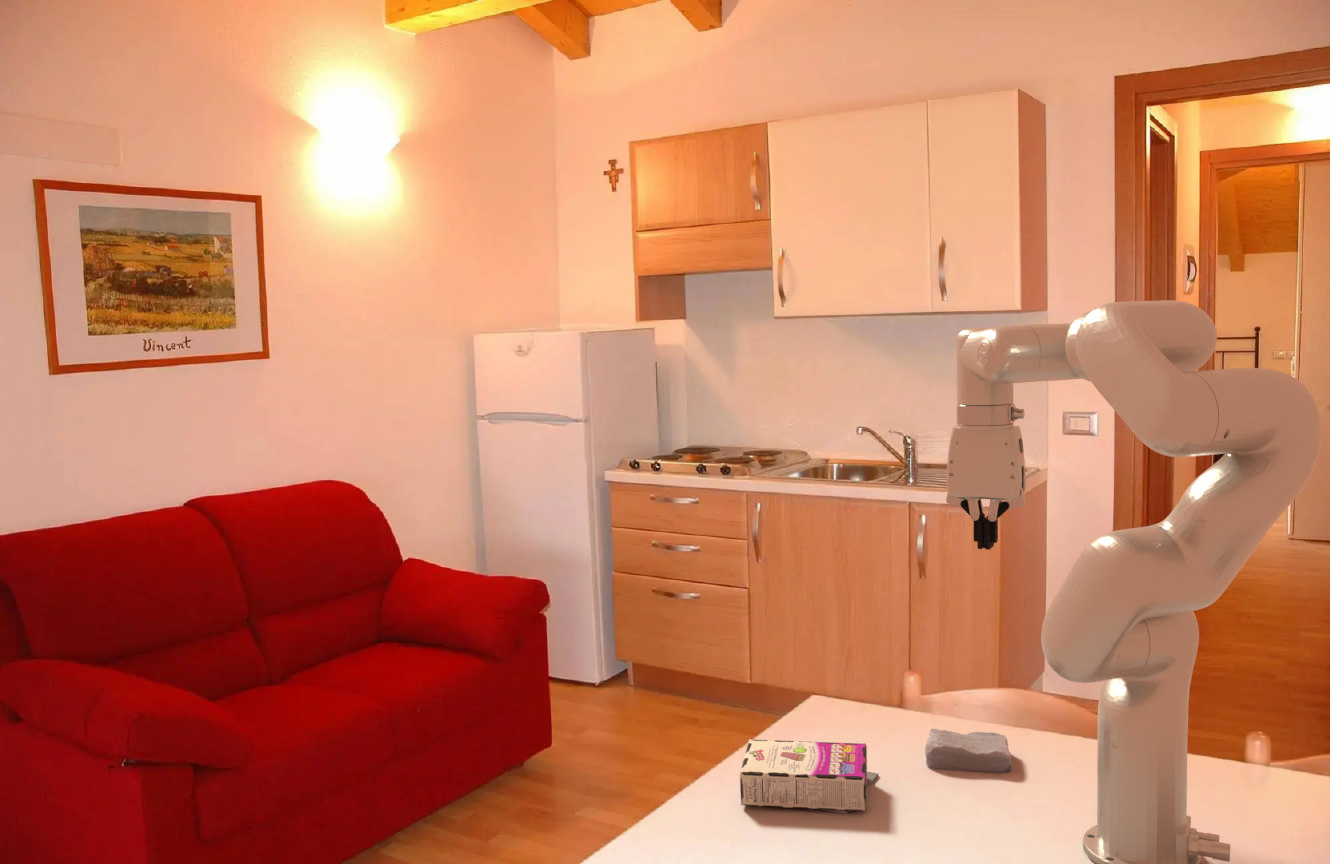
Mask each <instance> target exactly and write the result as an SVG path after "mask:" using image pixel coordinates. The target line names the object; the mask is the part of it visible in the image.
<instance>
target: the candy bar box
mask: <svg viewBox="0 0 1330 864" xmlns="http://www.w3.org/2000/svg"><path fill="white" fill-rule="evenodd" d="M867 751H868V750H867V744H866V743H856V742H855V743H853V742H829V741H827V742H823V741H821V742H819V741H800V740H775V739H774V740H773V739H772V740H771V739H770V740H769V739H768V740H767V739H751V738H749V740H748V742H747V745H746V750H745V753H744V758H743V761H742V765H741V768H740V772H739V784H740V787H739V788H740V802H741V803H740V805H741V806H747V807H748V806H749V807H750V806H751V807H771V808H791V809H792V808H795V809H796V808H797V809H813V810H814V809H818V810H822V809H832V810H849V811H851V812H853V811H854V812H866V810H867V794H868V793H867V790H868V789H867V772H868V758H867V757H868V756H867V755H868V754H867Z"/></svg>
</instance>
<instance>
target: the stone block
mask: <svg viewBox="0 0 1330 864" xmlns="http://www.w3.org/2000/svg"><path fill="white" fill-rule="evenodd" d="M1009 749H1010V748H1009V744H1008V738H1007V736H1005V735H1003V734H1000V733H996V732H985V731H973V732H969V733H966V734H965V733H959V732H956V731H952V730H946V729H945V730H944V729H937V728H930V731H929V735H928V737H927V739H926V743H925V750H924V751H925V759H926V760H925V763H926V766H927V768H928V769H932V770H940V771H941V770H943V771H944V770H945V771H957V772H971V773H984V774H985V773H986V774H1003V773H1005V774H1006V773H1007V774H1008V773H1011V771H1012V769H1013V764H1012V755H1011V752H1010V751H1009Z"/></svg>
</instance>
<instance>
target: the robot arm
mask: <svg viewBox="0 0 1330 864" xmlns="http://www.w3.org/2000/svg"><path fill="white" fill-rule="evenodd" d="M955 340H956V342H955V347H956V348H955V351H956V353H955V355H956V358H955V359H956V360H955V361H956V363H955V364H956V425H954V426H952V428H951V434H950V437H949V445H948V453H947V454H948V455H947V463H946V490H947V494H946V498H945V502H946V503H947V504H949V505H952V506H955V507H958V508H962V509H963V510H964V511H965V513H967V514H968V515H969V516H970V519H971V520H972V521H973V542H976V544H977V549H978V550H983V549H985V550H986V551H987V550H991V549H992V548H993V547H994V546H995V544H997V543H998V540H999V539H998V538H999V533H998V532H999V524H998V523H999V518H1000V517H1001V516H1003V515H1004V513H1006V512H1007V511H1009V510H1014V509H1021V508H1024V507H1025V506H1026V504H1027V500H1026V496H1025V492H1026V491H1025V490H1026V487H1027V486H1026V485H1027V484H1026V483H1027V481H1026V476H1027V475H1026V463H1025V462H1026V461H1025V451H1024V442H1023V438H1022V437H1023V436H1022V435H1023V434H1022V432H1021V431H1022V430H1021V427H1020V426H1019V425H1014V423H1015V421H1016V420H1020V419H1024V418H1025V413H1026V412H1025V409H1024V408H1018V407H1016V406H1015V405H1016V404H1015V403H1014V384H1020V383H1031V382H1032V383H1034V382H1035V383H1036V382H1050V381H1051V382H1052V381H1053V382H1055V381H1056V382H1057V381H1071V380H1081V379H1082V380H1085V381H1087V382H1091V383H1092V385H1093V386H1094V387H1095V389H1096V390H1097V391H1098V393H1100V395H1101V396H1102V398H1103V399H1105V401H1106V402H1107V403H1108V404H1109V406H1110V407H1111V408H1112V409H1113V410H1114V411H1115V413H1116V414H1117V415H1118V416H1119V418H1121V420H1122V421H1123V422H1124V424H1125V425H1126V426H1127V427H1128V428H1129V430H1131V432H1132V433H1133V435H1135V437H1136V438H1137V439H1138V440H1140V442H1142V443H1143V444H1144V445H1145V446H1146V447H1148V448H1149V449H1150V450H1152V451H1154V452H1155V453H1157V454H1160V455H1162V456H1167V457H1173V458H1190V457H1202V456H1210V455H1211V456H1212V455H1213V456H1214V455H1221V454H1222V456H1221V457H1220V459H1218V460H1217V461H1216V462H1215V463H1214V464H1213V465H1211V466H1210V467H1208V468H1207V469H1206V470H1205V471H1204V472H1202V473H1201V474H1200V475H1198V476H1197V477H1196V478H1195V479H1194V480H1193V481H1192V482H1191V483H1190V485H1188V487H1187V488H1186V490H1185V491H1184V493H1183V494H1182V496H1181V497H1180V499H1179V501H1178V503H1177V504H1176V506H1175V507H1174V508H1173V509H1172V511H1171V512H1170V513H1169V514H1168V515H1167V516H1166V518H1164V519H1163V520H1162V521H1160V522H1158V523H1154V524H1151V525H1147V526H1139V527H1131V528H1125V529H1118V530H1113V531H1110V532H1107V533H1104V534H1102V535H1100V536H1098V537H1097V538H1095V539H1093V540H1092V541H1091V542H1090V543H1089V544H1087V546H1086V547H1084V549H1083V550H1082V552H1081V553H1080V554H1079V556H1078V558H1077V559H1076V561H1075V562H1074V563H1073V566H1072V567H1071V569H1070V571H1069V572H1068V574H1067V576H1066V577H1065V580H1064V581H1063V583H1062V584H1061V585H1060V587H1059V589H1058V591H1057V593H1056V595H1055V596H1054V597H1053V598H1052V601H1051V603H1050V604H1049V606H1048V608H1047V611H1046V613H1045V616H1044V617H1043V621H1042V626H1041V630H1040V631H1041V633H1040V641H1041V647H1042V648H1041V649H1042V654H1043V656H1044V658H1045V661H1046V662H1047V664H1048V666H1049V667H1050V669H1052V671H1053V672H1054V673H1056V674H1057V675H1058V676H1060V677H1061V678H1063V679H1065V680H1066V681H1069V682H1074V683H1078V684H1081V683H1082V684H1091V683H1098V682H1099V683H1100V682H1103V685H1102V687H1101V690H1100V694H1099V698H1098V703H1097V771H1096V772H1097V777H1096V779H1097V782H1096V783H1097V789H1096V790H1097V799H1096V800H1097V803H1096V804H1097V807H1096V808H1097V811H1096V812H1097V813H1096V816H1097V817H1096V818H1097V819H1096V820H1097V821H1096V823H1097V825H1093V826H1092V827H1090V828H1089V829H1087V830H1086V831H1085V833H1084V834H1083V837H1082V846H1083V847H1082V848H1083V851H1084V853H1085V854H1086V855H1087V857H1088V858H1089V859H1091V860H1092V862H1094V863H1095V864H1202V857H1206V858H1212V860H1216V861H1217V860H1218V861H1221V862H1222V861H1223V862H1227V863H1230V862H1231V843H1226V842H1222V841H1221V842H1220V834H1216V833H1211V832H1202V831H1197V828H1194V827H1192V816H1190V815H1187V807H1188V806H1187V801H1188V731H1189V699H1190V688H1191V682H1192V675H1193V671H1194V666H1195V664H1196V663H1195V662H1196V659H1197V654H1198V649H1199V641H1200V629H1199V624H1198V619H1197V617H1196V614H1195V612H1196V611H1198V610H1202V609H1204V608H1207V607H1209V606H1211V605H1213V604H1214V603H1216V601H1218V599H1220V597H1221V596H1222V595H1223V594H1224V592H1226V590H1227V589H1228V587H1229V586H1230V585H1231V583H1232V582H1233V580H1234V579H1235V578H1236V576H1237V575H1238V573H1240V571H1241V570H1242V569H1243V567H1244V566H1245V564H1246V563H1247V561H1248V560H1249V559H1250V558H1251V556H1252V554H1253V553H1254V552H1255V551H1256V549H1257V548H1259V547H1258V546H1259V545H1260V544H1261V542H1262V540H1263V539H1264V537H1265V536H1266V535H1267V534H1268V532H1269V530H1270V529H1271V528H1272V527H1273V525H1274V524H1275V523H1276V522H1277V520H1279V518H1280V517H1281V516H1282V515H1283V514H1284V512H1285V511H1286V510H1287V509H1288V508H1289V506H1290V505H1291V504H1292V503H1293V502H1294V500H1296V498H1297V497H1298V495H1299V494H1300V493H1301V491H1302V490H1303V488H1304V487H1305V486H1306V485H1307V483H1308V481H1309V479H1310V477H1311V475H1312V474H1313V472H1314V469H1315V468H1316V465H1317V462H1318V459H1319V457H1320V452H1321V445H1322V420H1321V416H1320V411H1319V409H1318V406H1317V403H1316V401H1315V399H1314V397H1313V394H1312V393H1311V391H1310V390H1309V389H1308V388H1307V386H1306V385H1304V383H1303V382H1301V381H1300V380H1299V379H1297V378H1296V377H1293V375H1290V374H1289V373H1285V372H1282V371H1279V370H1275V369H1271V368H1270V369H1268V368H1259V367H1236V368H1221V369H1220V368H1219V369H1205V370H1202V369H1201V368H1202V366H1204V365H1205V364H1207V362H1208V361H1209V360H1210V358H1211V357H1212V355H1213V353H1214V352H1215V350H1216V347H1217V341H1218V333H1217V328H1216V326H1215V323H1214V322H1213V320H1212V318H1211V317H1210V316H1209V315H1208V313H1206V311H1205V310H1203V309H1201V308H1200V307H1199V306H1197V305H1194V304H1193V303H1190V302H1187V301H1186V302H1185V301H1181V300H1172V299H1171V300H1170V299H1168V300H1167V299H1165V300H1139V301H1138V300H1137V301H1136V300H1132V301H1114V302H1113V301H1112V302H1108V303H1105V304H1102V305H1099V306H1098V307H1095V308H1094V309H1093V310H1090V311H1086V312H1083V313H1082V314H1081V315H1079V316H1078V317H1077V318H1076V319H1074V321H1073V322H1068V323H1067V322H1066V323H1040V324H1039V323H1038V324H1019V325H1017V324H1016V325H999V326H993V327H992V326H989V327H970V328H965V329H961V331H959V333H958V334H957V337H956V339H955ZM1199 369H1201V370H1199ZM982 500H989V505H988V506H989V507H988V513H987V515H985V513H984V508H983V501H982ZM1194 611H1195V612H1194Z"/></svg>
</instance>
